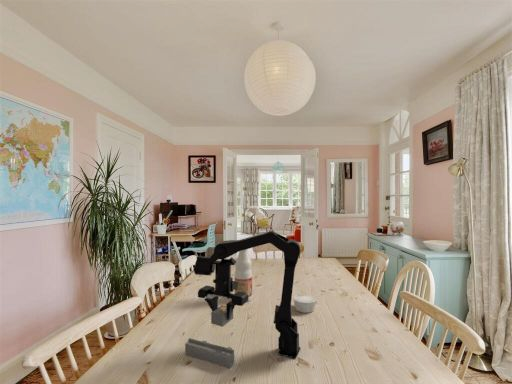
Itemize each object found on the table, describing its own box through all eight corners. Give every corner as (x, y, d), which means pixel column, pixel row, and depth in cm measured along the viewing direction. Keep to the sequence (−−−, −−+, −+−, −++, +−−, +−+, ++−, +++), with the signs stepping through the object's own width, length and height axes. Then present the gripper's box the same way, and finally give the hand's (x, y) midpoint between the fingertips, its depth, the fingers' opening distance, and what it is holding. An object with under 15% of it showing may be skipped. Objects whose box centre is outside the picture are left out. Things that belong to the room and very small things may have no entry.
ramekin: (302, 302, 137) (302, 292, 137) (320, 309, 129) (320, 298, 129) (288, 309, 129) (288, 298, 130) (307, 316, 122) (307, 304, 122)
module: (233, 318, 100) (233, 306, 100) (222, 326, 94) (222, 313, 94) (222, 315, 102) (222, 303, 102) (211, 323, 96) (211, 310, 96)
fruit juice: (231, 298, 143) (231, 246, 143) (246, 294, 148) (246, 244, 148) (240, 304, 135) (239, 249, 135) (255, 300, 140) (255, 247, 141)
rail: (239, 356, 91) (239, 343, 91) (230, 368, 85) (230, 354, 85) (196, 345, 98) (196, 332, 98) (185, 355, 92) (185, 341, 93)
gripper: (254, 273, 101) (254, 314, 101) (213, 267, 109) (213, 305, 109) (241, 282, 91) (241, 327, 91) (197, 274, 99) (196, 316, 99)
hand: (222, 318), depth 98 cm, fingers closed on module, 5 cm apart
